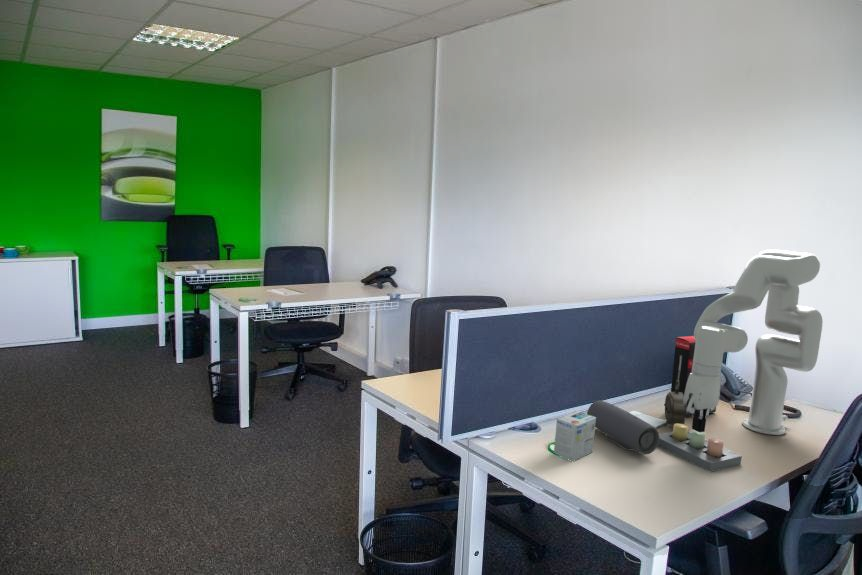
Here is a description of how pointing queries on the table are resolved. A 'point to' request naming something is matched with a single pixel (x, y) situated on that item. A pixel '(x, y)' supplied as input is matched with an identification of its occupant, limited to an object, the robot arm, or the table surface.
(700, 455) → the button board
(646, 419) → the external hard drive
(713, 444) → the terracotta button
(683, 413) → the alarm clock
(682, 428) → the ochre button
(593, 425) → the light bulb box
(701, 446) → the green button
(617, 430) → the bluetooth speaker
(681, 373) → the graphics card box
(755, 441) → the table surface
